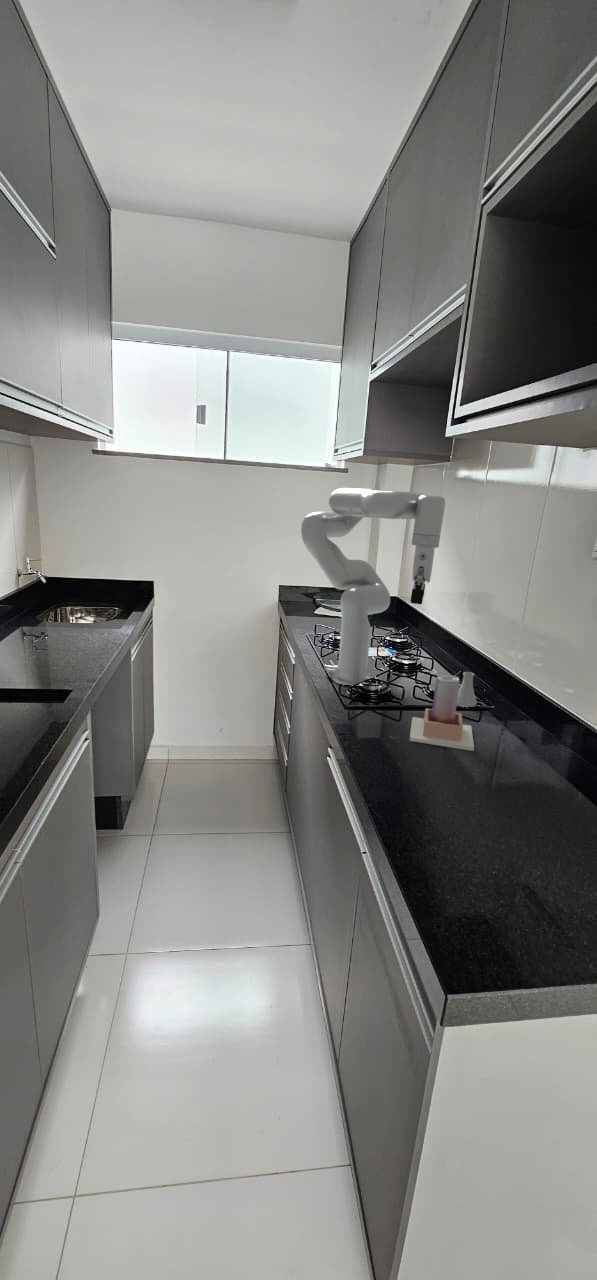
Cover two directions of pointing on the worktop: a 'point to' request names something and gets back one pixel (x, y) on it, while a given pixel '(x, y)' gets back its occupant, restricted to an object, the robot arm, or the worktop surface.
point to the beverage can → (445, 699)
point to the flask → (466, 691)
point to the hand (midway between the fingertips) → (417, 600)
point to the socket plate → (442, 732)
